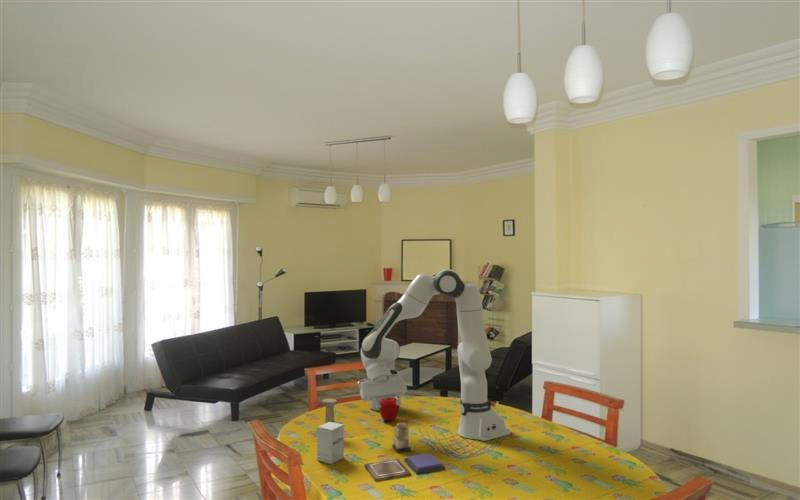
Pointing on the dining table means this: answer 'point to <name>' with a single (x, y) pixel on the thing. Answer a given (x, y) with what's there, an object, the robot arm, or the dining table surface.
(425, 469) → the ink pad
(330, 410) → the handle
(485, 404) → the robot arm
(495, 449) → the dining table surface
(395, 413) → the apple
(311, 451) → the dining table surface
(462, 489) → the dining table surface
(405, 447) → the wooden stamp
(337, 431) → the supplement box
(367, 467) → the marked board
